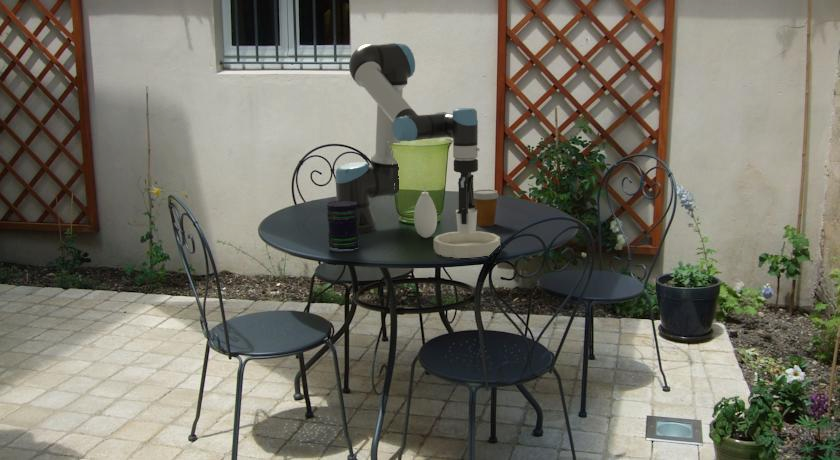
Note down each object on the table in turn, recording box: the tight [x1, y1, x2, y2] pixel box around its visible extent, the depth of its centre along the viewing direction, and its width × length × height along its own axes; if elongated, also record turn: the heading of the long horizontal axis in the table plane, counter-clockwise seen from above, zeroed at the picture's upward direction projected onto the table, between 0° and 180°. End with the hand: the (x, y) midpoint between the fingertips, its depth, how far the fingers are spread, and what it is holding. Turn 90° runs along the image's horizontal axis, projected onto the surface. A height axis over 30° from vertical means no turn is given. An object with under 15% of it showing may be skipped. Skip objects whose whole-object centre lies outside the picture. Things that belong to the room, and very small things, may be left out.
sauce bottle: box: [413, 184, 438, 239], centre depth 297 cm, size 8×8×18 cm
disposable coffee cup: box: [473, 189, 499, 227], centre depth 315 cm, size 10×10×12 cm
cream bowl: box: [432, 230, 501, 259], centre depth 279 cm, size 20×20×4 cm
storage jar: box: [326, 200, 360, 249], centre depth 285 cm, size 10×10×15 cm
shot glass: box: [455, 208, 477, 234], centre depth 277 cm, size 7×7×7 cm
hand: (466, 231), depth 278 cm, fingers closed on shot glass, 7 cm apart
